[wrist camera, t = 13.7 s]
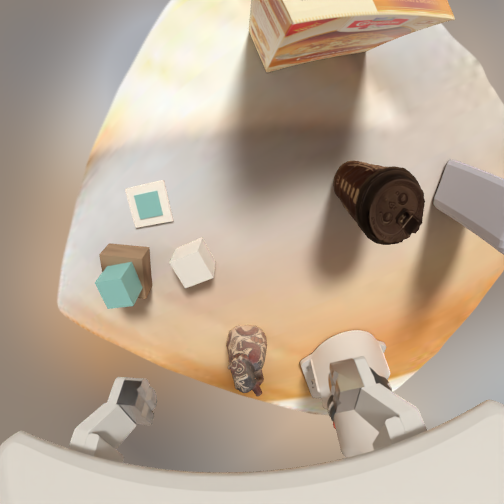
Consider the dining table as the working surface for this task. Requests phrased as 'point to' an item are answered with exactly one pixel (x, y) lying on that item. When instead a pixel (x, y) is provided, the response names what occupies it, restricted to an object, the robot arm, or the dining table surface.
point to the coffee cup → (381, 200)
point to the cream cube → (193, 263)
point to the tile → (149, 204)
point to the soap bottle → (473, 201)
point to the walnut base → (130, 254)
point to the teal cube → (119, 285)
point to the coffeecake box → (334, 26)
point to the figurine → (247, 357)
